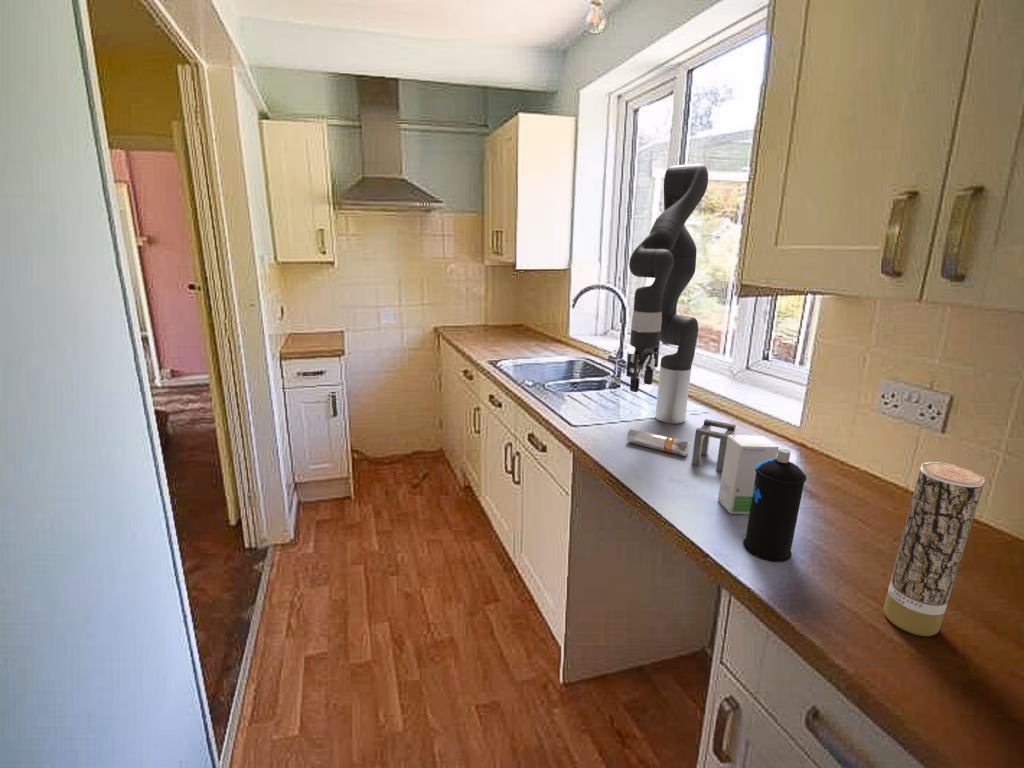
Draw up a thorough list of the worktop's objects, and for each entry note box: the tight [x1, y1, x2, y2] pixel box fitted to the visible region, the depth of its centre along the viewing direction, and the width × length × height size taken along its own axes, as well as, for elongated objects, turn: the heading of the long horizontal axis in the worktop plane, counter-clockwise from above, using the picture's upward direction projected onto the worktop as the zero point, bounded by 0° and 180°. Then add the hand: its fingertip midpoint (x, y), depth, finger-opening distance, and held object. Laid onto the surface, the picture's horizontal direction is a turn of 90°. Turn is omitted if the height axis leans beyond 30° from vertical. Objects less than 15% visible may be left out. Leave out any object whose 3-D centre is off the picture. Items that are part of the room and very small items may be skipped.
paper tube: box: [883, 461, 985, 637], centre depth 74 cm, size 7×7×25 cm
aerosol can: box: [742, 448, 807, 563], centre depth 92 cm, size 8×8×20 cm
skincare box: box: [717, 434, 780, 515], centre depth 107 cm, size 8×7×16 cm
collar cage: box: [691, 418, 737, 473], centre depth 130 cm, size 10×8×10 cm
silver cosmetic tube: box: [626, 428, 690, 457], centre depth 139 cm, size 16×4×4 cm, turn 56°
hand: (641, 387), depth 136 cm, fingers open, 8 cm apart
